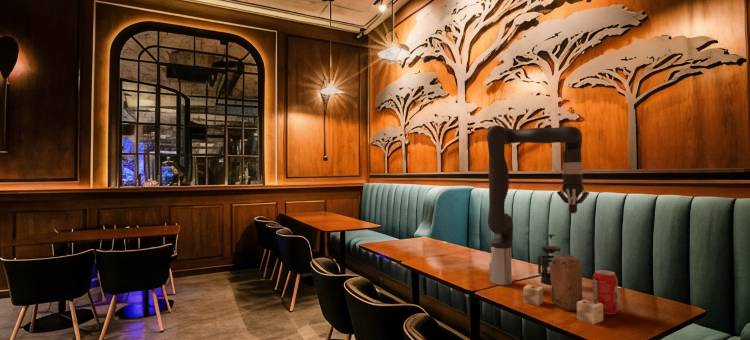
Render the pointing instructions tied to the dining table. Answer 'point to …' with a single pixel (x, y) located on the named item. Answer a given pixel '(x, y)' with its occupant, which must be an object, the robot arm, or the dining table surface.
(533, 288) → the dotted cube one
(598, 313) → the dotted cube two
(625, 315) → the dining table surface
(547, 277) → the french press
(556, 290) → the block
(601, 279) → the soda can
